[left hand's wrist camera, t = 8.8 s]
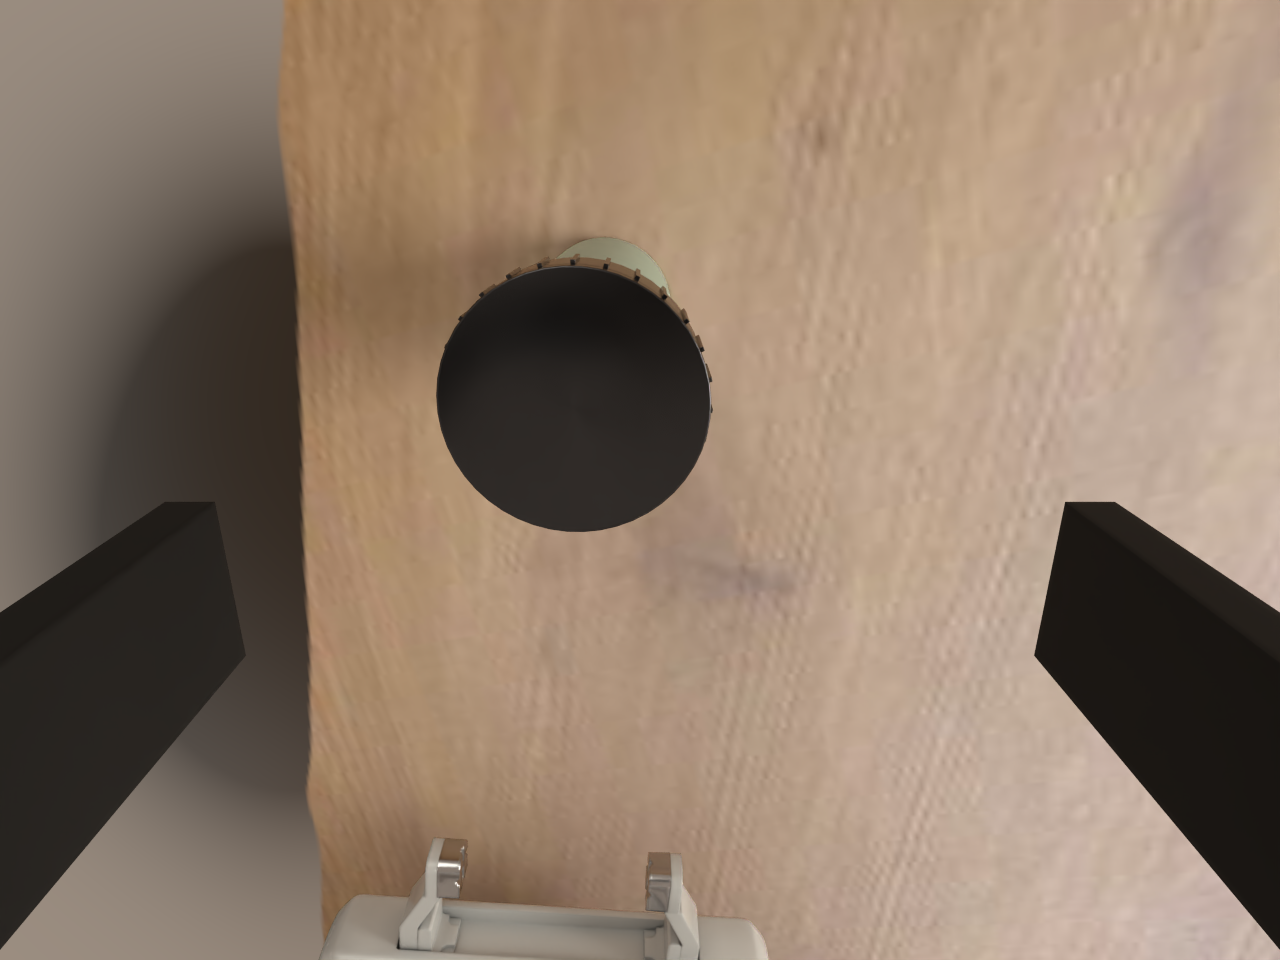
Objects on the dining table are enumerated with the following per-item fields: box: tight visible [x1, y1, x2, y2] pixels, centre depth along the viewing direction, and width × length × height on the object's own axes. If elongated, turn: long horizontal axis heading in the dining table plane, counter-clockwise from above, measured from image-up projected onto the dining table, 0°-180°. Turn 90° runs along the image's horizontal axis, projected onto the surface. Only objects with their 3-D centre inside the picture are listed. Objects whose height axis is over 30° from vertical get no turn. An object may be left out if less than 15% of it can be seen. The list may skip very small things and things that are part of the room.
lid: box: [436, 254, 713, 532], centre depth 19 cm, size 6×6×2 cm
